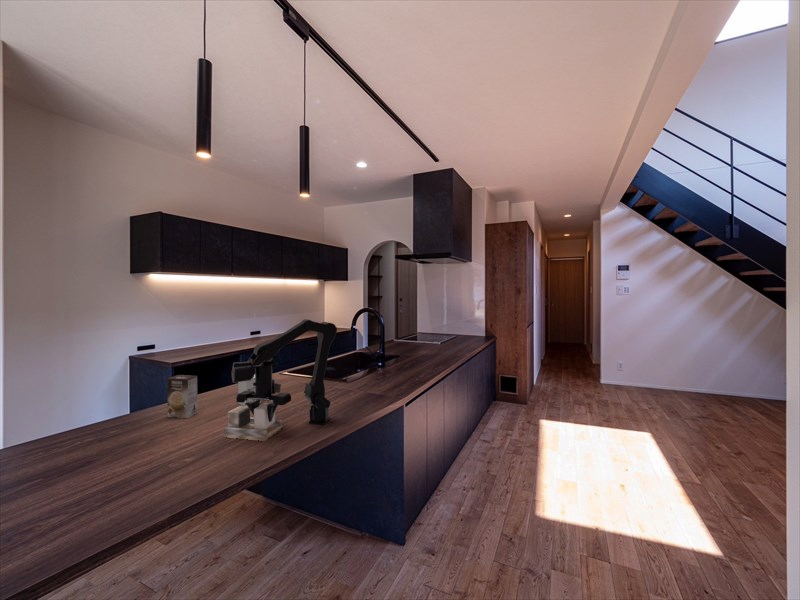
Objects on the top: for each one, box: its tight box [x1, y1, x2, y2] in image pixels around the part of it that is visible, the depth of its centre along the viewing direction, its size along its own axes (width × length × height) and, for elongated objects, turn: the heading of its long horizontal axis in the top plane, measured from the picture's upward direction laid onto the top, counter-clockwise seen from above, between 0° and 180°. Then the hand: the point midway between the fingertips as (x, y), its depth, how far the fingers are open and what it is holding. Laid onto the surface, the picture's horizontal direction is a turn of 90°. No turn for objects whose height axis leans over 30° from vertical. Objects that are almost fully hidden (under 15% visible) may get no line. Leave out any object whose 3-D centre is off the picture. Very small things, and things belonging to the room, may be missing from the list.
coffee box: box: [167, 374, 198, 419], centre depth 143 cm, size 9×6×16 cm
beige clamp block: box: [223, 405, 283, 442], centre depth 127 cm, size 16×12×8 cm
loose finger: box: [253, 402, 276, 429], centre depth 126 cm, size 5×7×7 cm, turn 170°
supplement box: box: [237, 373, 262, 406], centre depth 159 cm, size 7×7×13 cm
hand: (264, 421), depth 126 cm, fingers closed on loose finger, 5 cm apart
